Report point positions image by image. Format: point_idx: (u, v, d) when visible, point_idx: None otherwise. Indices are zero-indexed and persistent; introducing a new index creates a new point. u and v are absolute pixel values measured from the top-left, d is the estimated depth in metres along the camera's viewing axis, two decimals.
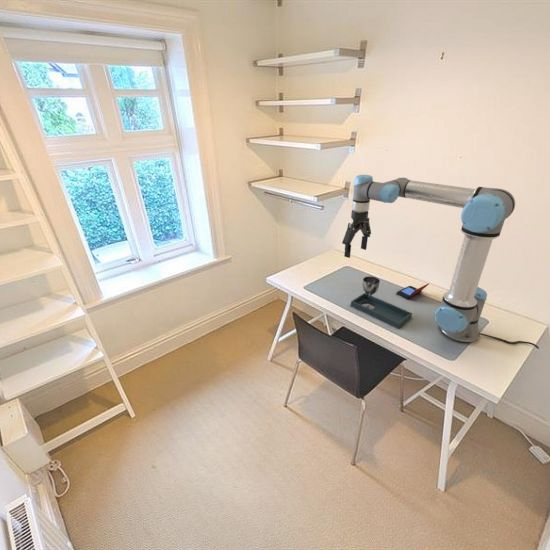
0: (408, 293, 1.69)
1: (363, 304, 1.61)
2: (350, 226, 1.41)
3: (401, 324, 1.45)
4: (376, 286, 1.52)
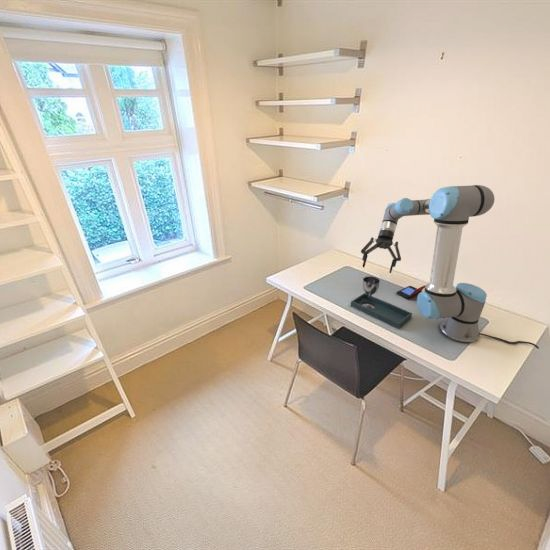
0: (408, 293, 1.69)
1: (363, 304, 1.61)
2: None
3: (401, 324, 1.45)
4: (376, 286, 1.52)
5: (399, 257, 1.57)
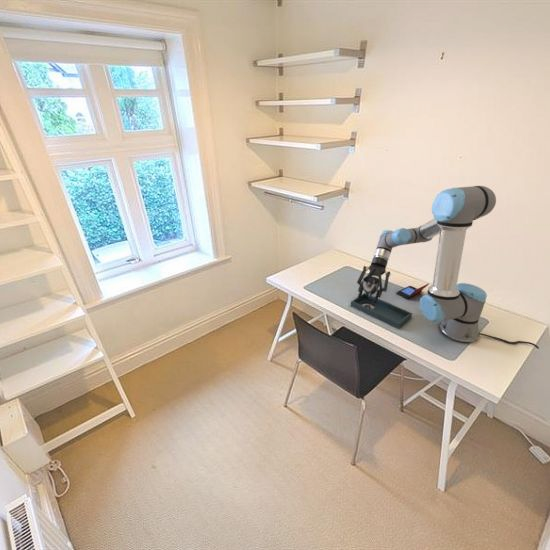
0: (408, 293, 1.69)
1: (363, 304, 1.61)
2: None
3: (401, 324, 1.45)
4: (376, 286, 1.52)
5: (385, 287, 1.53)
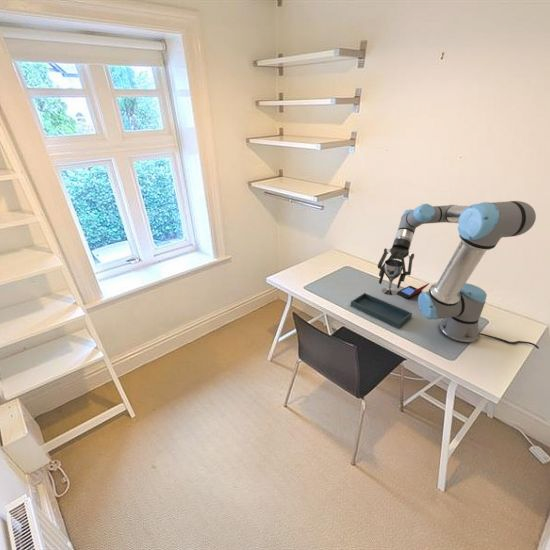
0: (408, 293, 1.69)
1: (384, 290, 1.49)
2: (384, 251, 1.49)
3: (401, 324, 1.45)
4: (400, 269, 1.39)
5: (409, 271, 1.41)
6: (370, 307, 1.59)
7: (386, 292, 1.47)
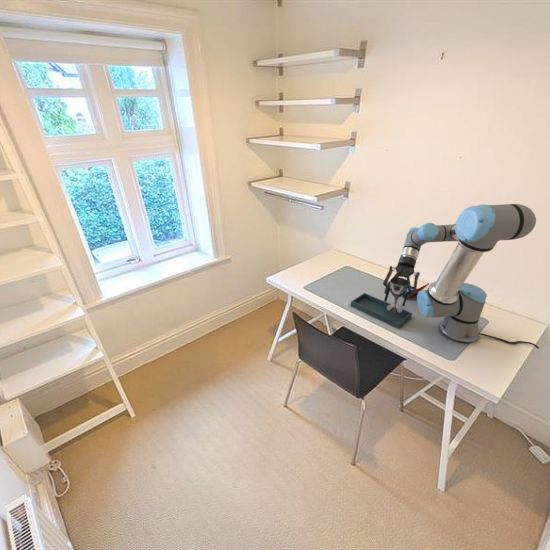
0: None
1: (389, 307, 1.50)
2: None
3: (401, 324, 1.45)
4: (405, 288, 1.40)
5: (414, 289, 1.42)
6: (370, 307, 1.59)
7: (391, 309, 1.48)
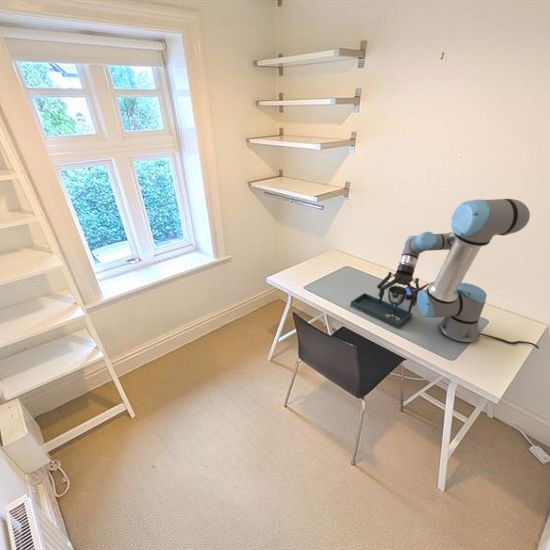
0: (408, 293, 1.69)
1: (388, 315, 1.52)
2: None
3: (401, 324, 1.45)
4: (403, 297, 1.42)
5: None
6: (370, 307, 1.59)
7: (390, 318, 1.50)
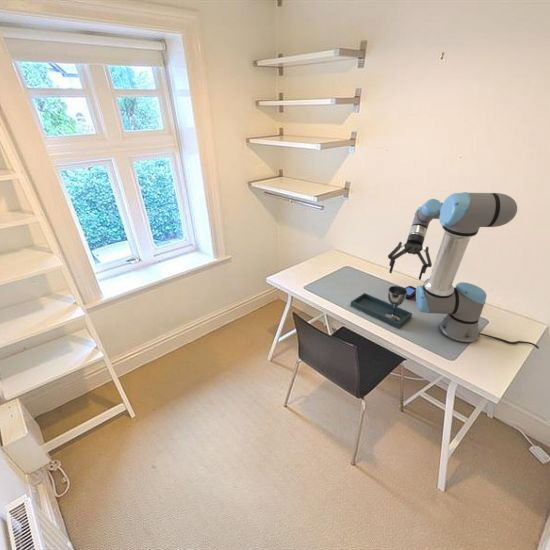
0: (408, 293, 1.69)
1: (388, 315, 1.52)
2: None
3: (401, 324, 1.45)
4: (403, 297, 1.42)
5: (429, 263, 1.47)
6: (370, 307, 1.59)
7: (390, 318, 1.50)
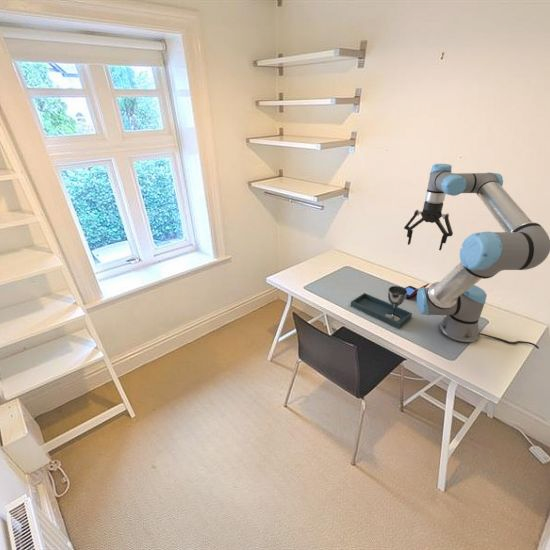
0: (408, 293, 1.69)
1: (388, 315, 1.52)
2: None
3: (401, 324, 1.45)
4: (403, 297, 1.42)
5: (450, 234, 1.37)
6: (370, 307, 1.59)
7: (390, 318, 1.50)
